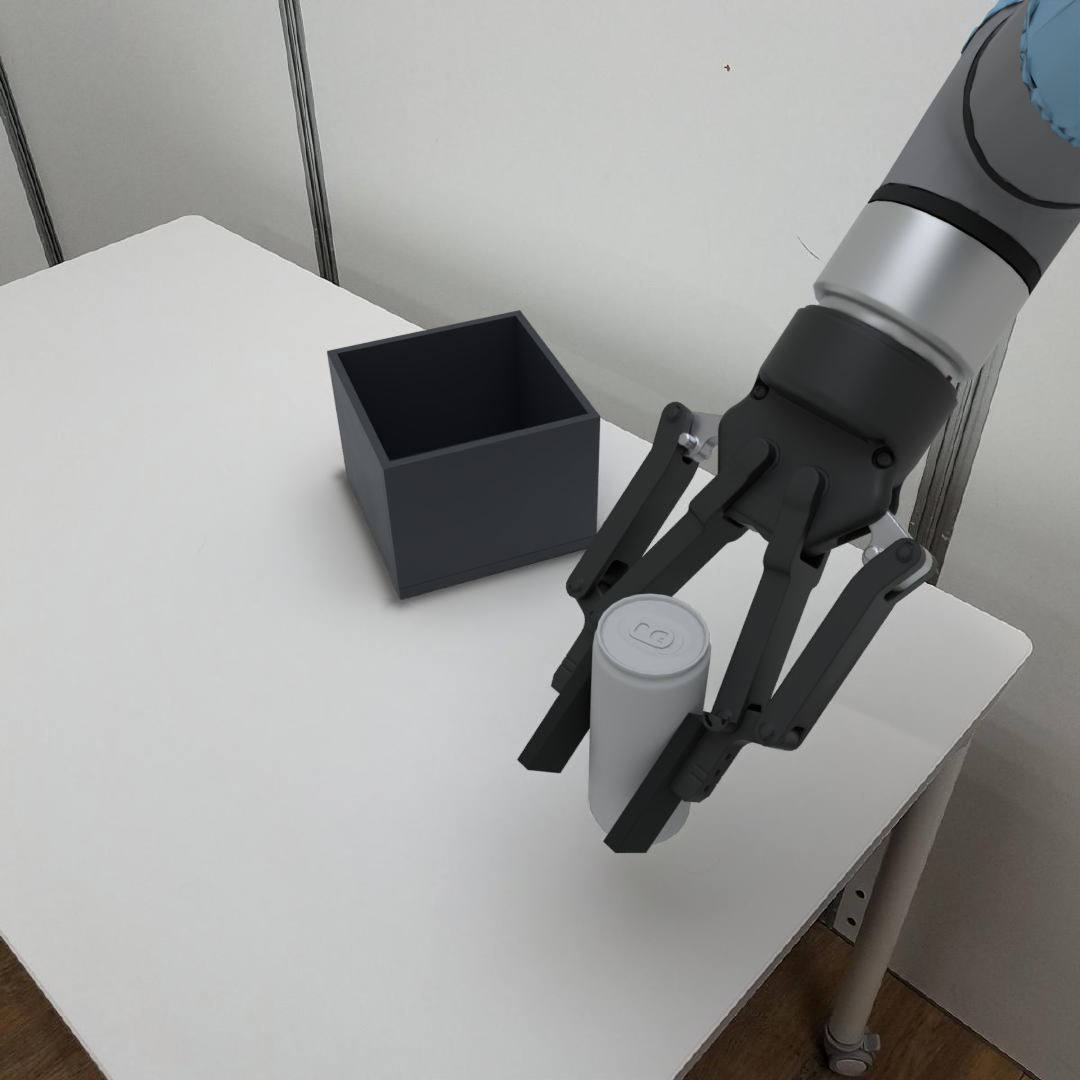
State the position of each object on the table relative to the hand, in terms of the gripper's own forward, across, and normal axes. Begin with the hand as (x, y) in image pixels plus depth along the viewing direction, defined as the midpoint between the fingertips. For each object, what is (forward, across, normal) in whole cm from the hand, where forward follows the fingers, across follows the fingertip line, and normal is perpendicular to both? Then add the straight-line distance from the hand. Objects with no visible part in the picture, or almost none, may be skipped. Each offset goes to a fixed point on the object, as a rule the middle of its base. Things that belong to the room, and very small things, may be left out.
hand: (581, 804), depth 49 cm
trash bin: (-4, +30, -19) cm, 36 cm away
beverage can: (0, 0, -6) cm, 6 cm away
